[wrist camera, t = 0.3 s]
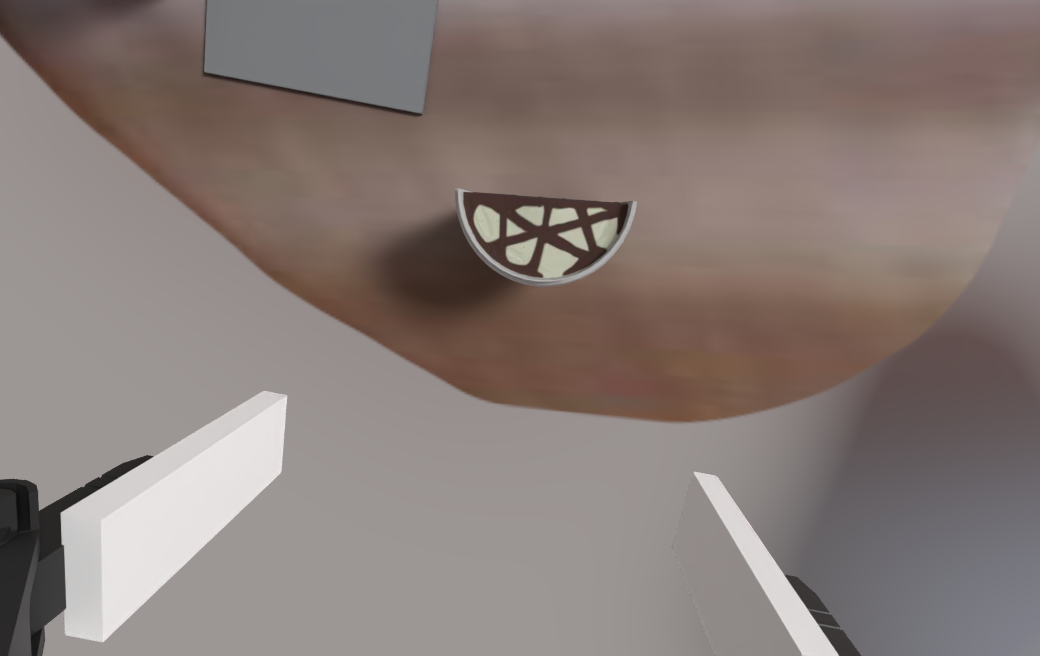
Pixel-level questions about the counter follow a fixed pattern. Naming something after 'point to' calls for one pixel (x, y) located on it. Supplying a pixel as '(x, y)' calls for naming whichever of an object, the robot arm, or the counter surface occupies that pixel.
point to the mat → (326, 47)
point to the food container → (542, 234)
